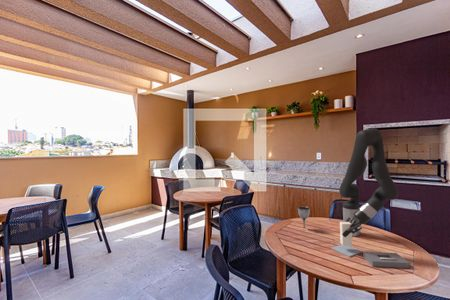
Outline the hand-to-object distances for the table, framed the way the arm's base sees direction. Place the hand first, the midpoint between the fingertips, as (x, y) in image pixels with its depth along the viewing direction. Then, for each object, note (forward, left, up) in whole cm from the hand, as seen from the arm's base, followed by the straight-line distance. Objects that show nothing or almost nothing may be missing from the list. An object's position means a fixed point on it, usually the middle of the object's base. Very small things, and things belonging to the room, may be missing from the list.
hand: (342, 234), depth 122 cm
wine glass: (-7, -35, -9) cm, 37 cm away
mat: (-2, +1, -9) cm, 9 cm away
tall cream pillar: (-2, +1, -5) cm, 6 cm away
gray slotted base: (-7, +18, -9) cm, 21 cm away
